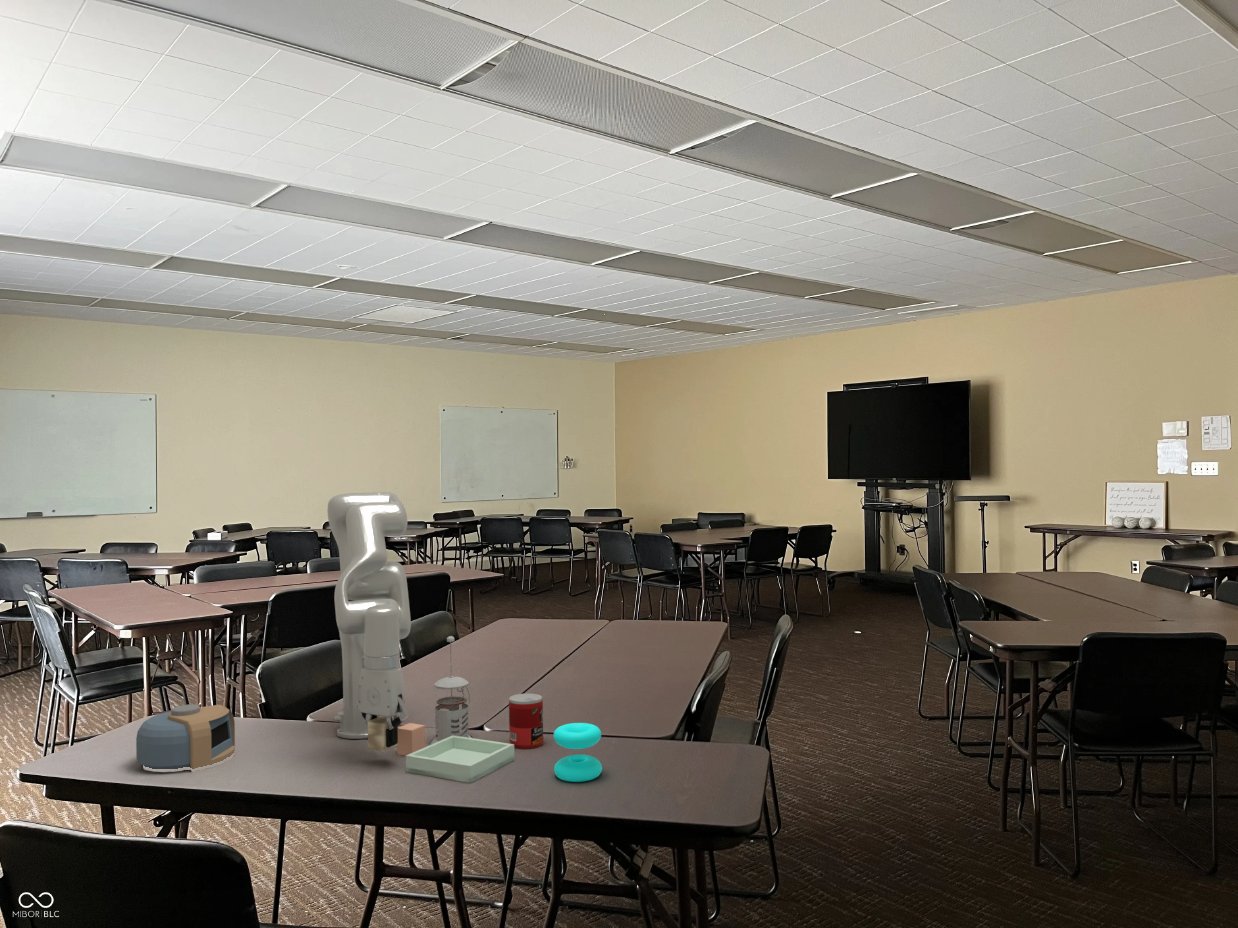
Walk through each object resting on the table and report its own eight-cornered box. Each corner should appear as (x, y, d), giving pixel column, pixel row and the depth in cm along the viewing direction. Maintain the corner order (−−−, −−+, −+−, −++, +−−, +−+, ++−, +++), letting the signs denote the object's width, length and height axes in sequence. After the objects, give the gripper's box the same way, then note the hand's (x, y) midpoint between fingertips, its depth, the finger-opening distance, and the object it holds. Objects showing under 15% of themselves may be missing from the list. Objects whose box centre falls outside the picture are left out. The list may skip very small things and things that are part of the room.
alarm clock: (207, 774, 190) (206, 718, 190) (117, 774, 191) (117, 718, 191) (249, 747, 209) (248, 696, 209) (167, 747, 210) (166, 696, 210)
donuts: (571, 718, 192) (610, 724, 186) (572, 765, 191) (611, 772, 186) (543, 730, 183) (583, 737, 178) (544, 778, 183) (584, 786, 178)
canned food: (538, 749, 202) (537, 701, 203) (505, 748, 204) (504, 700, 204) (547, 740, 210) (546, 693, 210) (515, 738, 212) (514, 692, 212)
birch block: (367, 748, 194) (367, 721, 194) (382, 742, 198) (382, 715, 198) (383, 751, 192) (383, 724, 192) (397, 745, 196) (397, 718, 196)
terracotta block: (397, 754, 201) (396, 727, 201) (410, 748, 205) (409, 722, 205) (412, 756, 199) (411, 730, 199) (425, 751, 203) (424, 725, 203)
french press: (423, 744, 208) (421, 638, 208) (450, 731, 219) (448, 630, 219) (458, 748, 204) (456, 640, 205) (484, 734, 215) (482, 632, 216)
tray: (406, 771, 189) (406, 755, 189) (452, 750, 203) (452, 735, 203) (470, 782, 181) (470, 765, 181) (514, 760, 195) (514, 744, 195)
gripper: (341, 661, 195) (341, 742, 196) (400, 670, 188) (400, 754, 188) (365, 653, 202) (366, 732, 203) (423, 662, 194) (423, 744, 195)
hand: (382, 742), depth 195 cm, fingers closed on birch block, 4 cm apart
